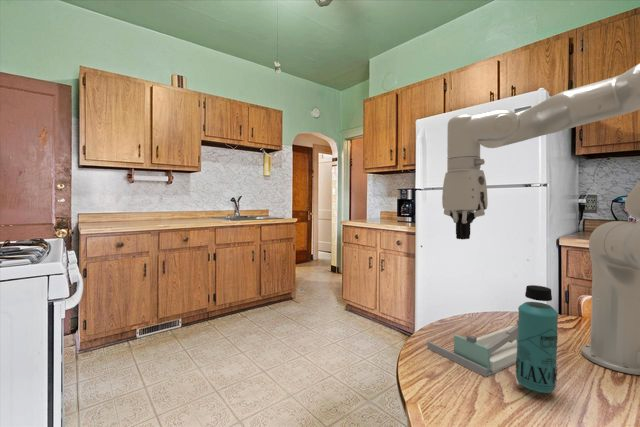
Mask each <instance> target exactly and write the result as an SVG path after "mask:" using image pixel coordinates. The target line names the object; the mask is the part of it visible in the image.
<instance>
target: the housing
mask: <svg viewBox="0 0 640 427" xmlns="http://www.w3.org/2000/svg"><path fill="white" fill-rule="evenodd" d="M513 326H514V325H510V326H507V327H505V328H502V329H501V328H500V329H498V330H496V331H493V332H489V333H487V334H484V335H481V336H478V337H476V343H479V344H481V345H484V346H488V345H489V344H491V343H492V342H494V341H495V340H497V339H498V338H500V337H501V336H503V335H504V334H506V331H508V330H509V329H511V328H512V327H513ZM516 342H517V341H516V340H515V341H513V342H512V343H510V342H507V343H506V344H504V345H503V346H502V347H500V348H499V349H497V350H496V351H494V352H493V353H492V354H490V372H488V369H487V368H485V367H483V366H481V365H478V364H476V363H474V362H472V361H470V360H468V359H466V358H464V357H462V356H459V355H457V354H455V353H454V351H450V350H449V349H447V348H445V347H442V346H440V345H439V344H436V343H434V342H432V341H430V340H429V341H427V344H426V345H427V348H426V349H428V350H431V351H432V352H434V353H436V354H438V355H440V356H442V357H443V358H446V359H448V360H450V361H452V362H455V363H456V364H459V365H461V366H463V367H464V368H467V369H468V370H471V371H472V370H473V372H475V373H476V372H477V373H476V374H478V373H479V375H480V374H481V375H480V376H482V375H483V376H482V377H484V376H485V377H484V378H488V377H490V376H493V375H494V374H496V373H499V372H500V370H501V371H503V370H505V369H507V368H509V367H511V365H512V366H513V364H514V365H516V364H515V363H516V360H517V359H516V356H517V351H516V350H517V343H516ZM504 368H505V369H504ZM502 369H503V370H502ZM498 371H499V372H498ZM487 376H488V377H487Z"/></svg>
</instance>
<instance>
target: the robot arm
mask: <svg viewBox="0 0 640 427" xmlns="http://www.w3.org/2000/svg"><path fill="white" fill-rule="evenodd" d="M639 110H640V62H639V63H637V64H636V65H634V66H632V67H631V68H629V69H628V70H627V71H625V72H624V73H622V74H619V75H617V76H613V77H609V78H606V79H603V80H598V81H597V82H593V83H588V84H586V85H582V86H578V87H575V88H571V89H568V90H567V89H566V90H565V91H561V92H559V93H556V94H554V95H552V96H550V97H548V98H547V99H545V100H543V101H541V102H540V103H537V104H536V105H534V106H531V107H530V108H527V109H525V110H522V111H519V112H514V111H512V110H510V109H497V110H493V111H487V112H483V113H479V114H460V115H455V116H453V117H452V118H450V119H449V120H448V122H447V133H446V134H447V137H446V138H447V141H446V142H447V148H446V150H447V157H446V158H447V161H446V162H447V163H446V164H447V169H446V172H445V174H444V180H443V185H442V196H441V198H442V199H441V200H442V201H441V202H442V209H443V215H445V216H448V217H450V218H451V219H452V220H453V223H455V235H456V236H455V238H456V240H469V239H470V236H471V224H472V223H473V222H474V221H475V219H476V218H477V217H483V216H485V214H486V213H485V211H486V210H487V209H488V207H489V206H488V203H489V202H488V201H489V200H488V188H487V180H486V176H485V172H484V170H483V169H481V166H482V165H485V159H483V158H481V146H482V147H483V148H487V149H495V148H496V149H497V148H501V147H504V146H509V145H513V144H516V143H520V142H525V141H527V140H532V139H535V138H538V137H542V136H545V135H546V136H547V135H552V134H555V133H558V132H561V131H564V130H569V129H572V128H576V127H579V126H580V127H581V126H583V125H584V126H585V125H587V124H591V123H594V122H599V121H602V120H606V119H611V118H614V117H615V118H616V117H619V116H623V115H626V114H630V113H633V112H636V111H639ZM624 208H625V210H626V212H627V213H628V215H629V216H631V217H633V218H634V219H637V220H638V221H637V222H636V221H635V222H634V221H624V220H616V221H615V220H613V221H608V222H605V223H602V224H600V225H598V226H597V227H596V228H595V229H594V230H593V231H592V233H591V234H590V236H589V241H588V248H589V256H590V262H591V263H590V264H591V272H592V273H591V277H592V278H591V279H592V280H591V303H590V306H591V309H590V339H589V340H590V343H587V344H584V345H582V346H581V350H580V351H581V354H582V355H583V356H584V357H585V358H586V359H587V360H589V361H591V362H593V363H594V364H597V365H599V366H601V367H604V368H607V369H610V370H612V371H616V372H619V373H620V372H621V373H624V374H630V375H636V376H640V180H639V181H638V182H637V183H636V184H635V185H634V187H633V188H632V189H631V190H630V192H629V193H628V195H627V196H626V198H625V202H624Z"/></svg>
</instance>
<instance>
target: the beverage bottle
mask: <svg viewBox="0 0 640 427" xmlns="http://www.w3.org/2000/svg"><path fill="white" fill-rule="evenodd" d="M524 295H525V298H527V299H530V300H534V301H526V302H524V303H522V304H520V305H519V306H518V308H517V309H518V318H517V320H518V340H517V342H516V343H517V350H516V351H517V356H516V359H517V360H516V364H515V377H516V381H517V382H518V384H520V385H521V386H523V387H524V388H526V389H529V390H531V391H534V392H537V393H543V394H544V393H553V392H554V391H555V389H556V387H557V382H558V377H557V376H558V366H557V359H558V358H557V353H558V341H559V339H558V335H559V333H558V323H559V322H558V321H559V320H558V319H559V318H558V317H559V313H558V312H557V310H556V309H555V308H554V307H552V305H550V304H547V303H544V302H550V301H552V300H553V295H552V289H551V288H549V287H546V286H543V285H533V284H531V285H530V284H529V285H527V286H526V287H525V294H524ZM538 301H539V302H538ZM540 301H541V302H540Z"/></svg>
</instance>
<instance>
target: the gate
mask: <svg viewBox="0 0 640 427" xmlns="http://www.w3.org/2000/svg"><path fill="white" fill-rule="evenodd" d="M476 338H477V336H473V335H471V334H468V335H466V337H464V336H461V335H460V334H454V335H453V353H455V354H457V355H459V356H462V357H464V358H466V359H468V360H470V361H472V362H474V363H476V364H478V365H481V366H483V367H485V368H487V369H488V372H490V348H488V347H486V346H484V345H481V344H479V343H476Z"/></svg>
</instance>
